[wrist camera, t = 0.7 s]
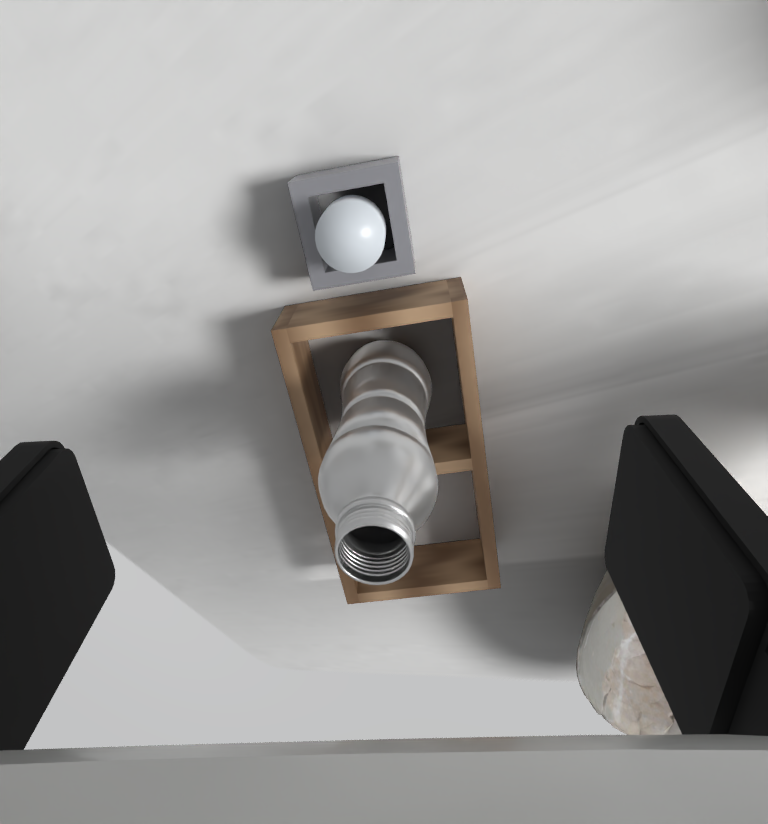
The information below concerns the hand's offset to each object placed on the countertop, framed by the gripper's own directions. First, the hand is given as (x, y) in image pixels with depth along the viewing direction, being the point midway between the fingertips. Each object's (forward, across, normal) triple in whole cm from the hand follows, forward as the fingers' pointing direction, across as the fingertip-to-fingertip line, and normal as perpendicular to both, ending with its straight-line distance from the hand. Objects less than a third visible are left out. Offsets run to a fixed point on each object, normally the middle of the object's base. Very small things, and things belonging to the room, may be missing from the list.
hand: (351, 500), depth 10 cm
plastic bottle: (+32, 0, +12) cm, 35 cm away
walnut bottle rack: (+32, -1, +18) cm, 37 cm away
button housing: (+32, +1, +1) cm, 32 cm away
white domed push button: (+29, +1, +1) cm, 29 cm away
